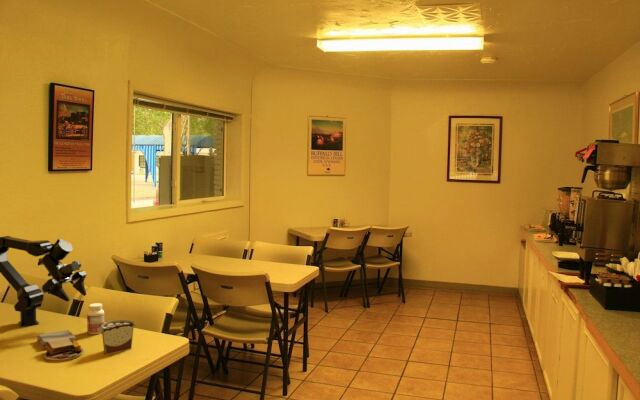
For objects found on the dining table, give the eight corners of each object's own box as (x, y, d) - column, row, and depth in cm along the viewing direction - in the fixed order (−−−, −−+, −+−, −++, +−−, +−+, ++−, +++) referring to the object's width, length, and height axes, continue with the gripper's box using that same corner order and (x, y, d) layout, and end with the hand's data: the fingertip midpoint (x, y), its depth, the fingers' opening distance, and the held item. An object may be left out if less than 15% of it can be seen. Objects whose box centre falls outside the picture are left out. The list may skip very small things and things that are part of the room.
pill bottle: (89, 329, 209) (89, 302, 208) (106, 329, 210) (105, 302, 209) (85, 335, 203) (85, 307, 202) (102, 334, 204) (102, 306, 203)
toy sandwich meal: (46, 365, 173) (46, 351, 173) (40, 353, 184) (40, 339, 184) (87, 358, 181) (87, 344, 180) (78, 346, 192) (78, 333, 191)
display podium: (37, 341, 195) (36, 334, 195) (69, 335, 202) (68, 329, 202) (43, 350, 186) (43, 343, 186) (76, 343, 193) (76, 337, 193)
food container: (127, 343, 195) (127, 317, 195) (135, 347, 191) (135, 321, 190) (94, 351, 187) (94, 323, 186) (101, 356, 182) (101, 327, 182)
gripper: (48, 258, 198) (72, 291, 196) (83, 251, 216) (105, 280, 214) (31, 276, 201) (54, 308, 199) (67, 267, 219) (89, 297, 217)
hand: (77, 298), depth 207 cm, fingers open, 9 cm apart
